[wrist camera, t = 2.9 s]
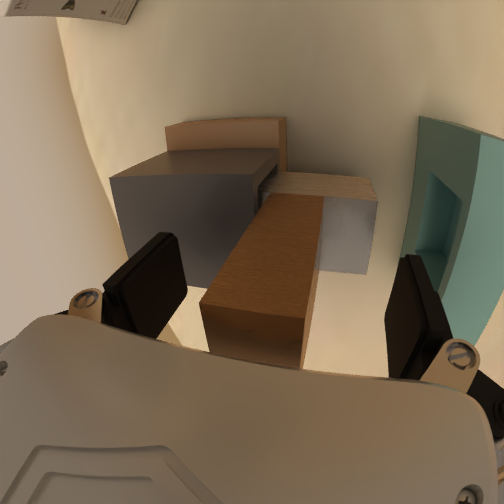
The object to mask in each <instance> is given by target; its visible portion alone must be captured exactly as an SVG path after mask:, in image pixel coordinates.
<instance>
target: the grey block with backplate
mask: <svg viewBox="0 0 504 504" xmlns="http://www.w3.org/2000/svg"><path fill="white" fill-rule="evenodd" d="M165 133H166V142H167V150H168V151H167V152H165V153H162V154H160V155H157V156H155V157H153V158H150V159H148V160H146V161H144V162H141V163H139V164H137V165H135V166H133V167H130V168H128V169H126V170H124V171H122V172H120V173H118V174H116V175H114V176H112V177H110V178H109V180H110V185H111V189H112V194H113V199H114V203H115V208H116V212H117V216H118V221H119V225H120V229H121V233H122V237H123V240H124V244H125V248H126V251H127V255H128V258H129V259H130V258H131V257H132V256H133V255H134V254H135V253H136V252H137V251H138V250H140V249H141V248H142V247H143V246H144V245H145V244H146V243H147V242H148V241H149V240H151V239H152V238H153V237H154V236H155V235H156V234H157V233H159V232H170V233H173V234H174V236H176V237H177V238H178V243H179V248H180V253H181V259H182V264H183V269H184V274H185V278H186V283H187V285H188V286H194V287H200V288H207V289H208V288H209V286H210V285H211V283H212V282H213V280H214V278H215V277H216V275H217V274H218V272H219V271H220V269H221V268H222V266H223V265H224V263H225V261H226V260H227V258H228V257H229V255H230V254H231V252H232V251H233V249H234V248H235V246H236V244H237V243H238V241H239V240H240V238H241V237H242V235H243V234H244V232H245V231H246V229H247V228H248V226H249V225H250V223H251V222H252V220H253V218H254V217H255V215H256V214H257V212H258V211H259V207H258V186H259V184H260V183H261V182H262V181H263V180H264V179H265V177H266V176H267V175H268V174H269V173H270V171H281V172H287V144H286V118H234V119H217V120H204V121H192V122H183V123H179V124H175V125H171V126H167V127H165Z"/></svg>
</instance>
